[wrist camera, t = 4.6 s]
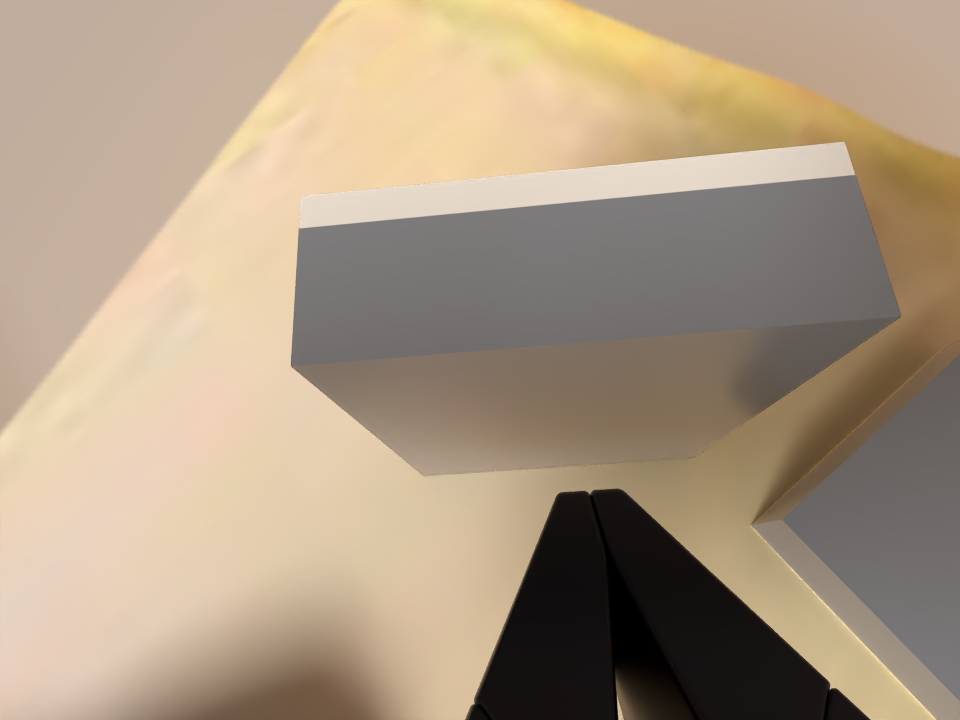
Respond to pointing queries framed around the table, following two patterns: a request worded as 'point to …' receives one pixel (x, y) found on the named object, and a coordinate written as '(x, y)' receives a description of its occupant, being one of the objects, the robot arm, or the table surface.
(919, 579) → the twin tile
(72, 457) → the table surface
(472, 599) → the table surface
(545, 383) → the tile
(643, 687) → the robot arm
